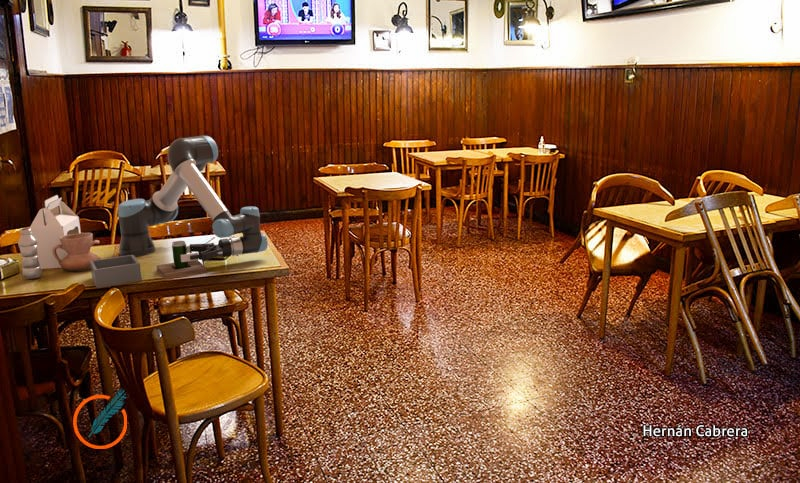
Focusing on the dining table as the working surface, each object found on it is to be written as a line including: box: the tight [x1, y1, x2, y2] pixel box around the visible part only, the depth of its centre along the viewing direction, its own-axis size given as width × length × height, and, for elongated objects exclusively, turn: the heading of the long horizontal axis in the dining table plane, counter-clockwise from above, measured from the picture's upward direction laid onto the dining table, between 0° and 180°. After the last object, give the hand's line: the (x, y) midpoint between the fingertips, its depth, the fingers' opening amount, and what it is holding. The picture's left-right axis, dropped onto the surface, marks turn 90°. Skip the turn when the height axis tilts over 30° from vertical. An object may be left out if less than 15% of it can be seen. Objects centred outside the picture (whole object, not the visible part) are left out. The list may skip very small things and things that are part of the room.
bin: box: [90, 255, 143, 289], centre depth 256 cm, size 16×16×7 cm
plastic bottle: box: [17, 227, 43, 280], centre depth 258 cm, size 6×7×20 cm
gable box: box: [29, 194, 82, 270], centre depth 282 cm, size 22×13×28 cm, turn 10°
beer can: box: [171, 240, 189, 270], centre depth 264 cm, size 5×5×12 cm
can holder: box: [156, 259, 208, 280], centre depth 265 cm, size 16×16×2 cm
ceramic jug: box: [52, 232, 102, 272], centre depth 272 cm, size 18×14×14 cm
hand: (177, 255), depth 263 cm, fingers open, 13 cm apart
